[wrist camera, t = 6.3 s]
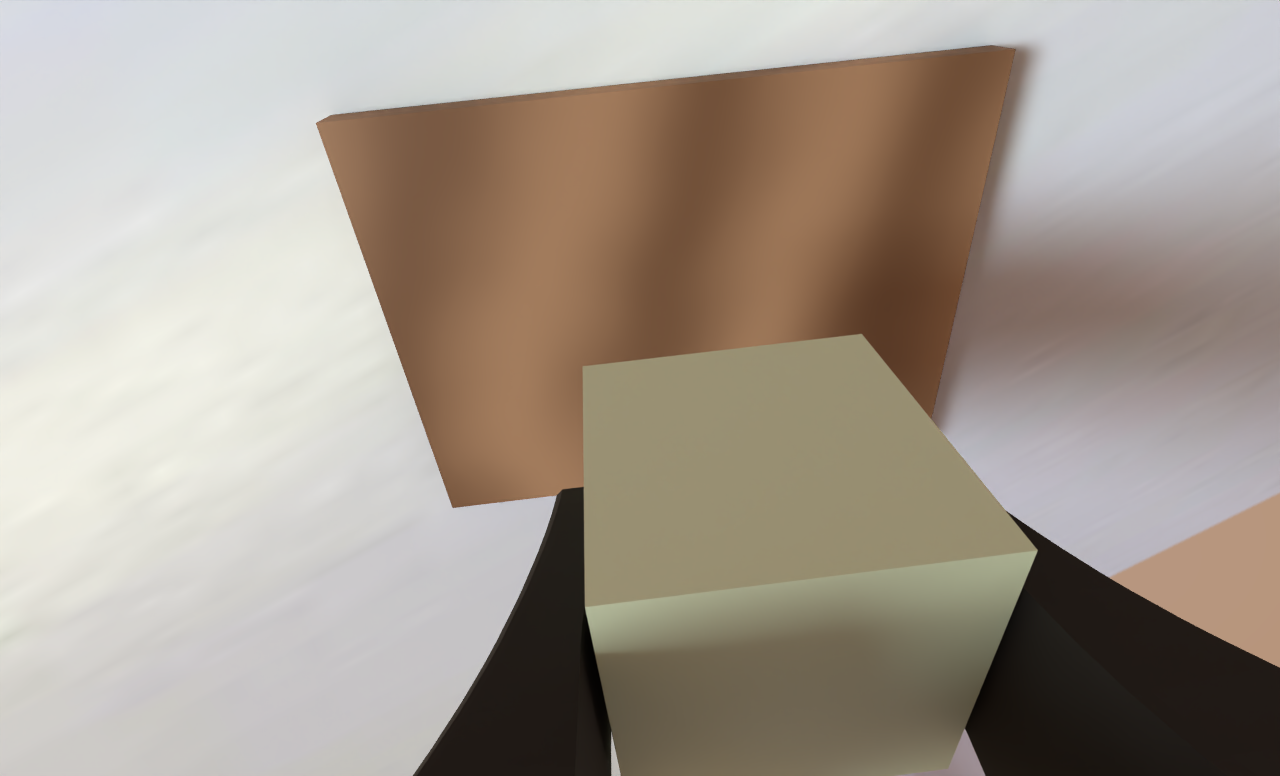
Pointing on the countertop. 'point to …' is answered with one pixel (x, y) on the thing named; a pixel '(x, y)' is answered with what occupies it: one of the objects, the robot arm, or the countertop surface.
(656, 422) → the sage block
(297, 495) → the countertop surface
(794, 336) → the walnut board
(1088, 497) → the countertop surface
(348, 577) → the countertop surface
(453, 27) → the countertop surface
